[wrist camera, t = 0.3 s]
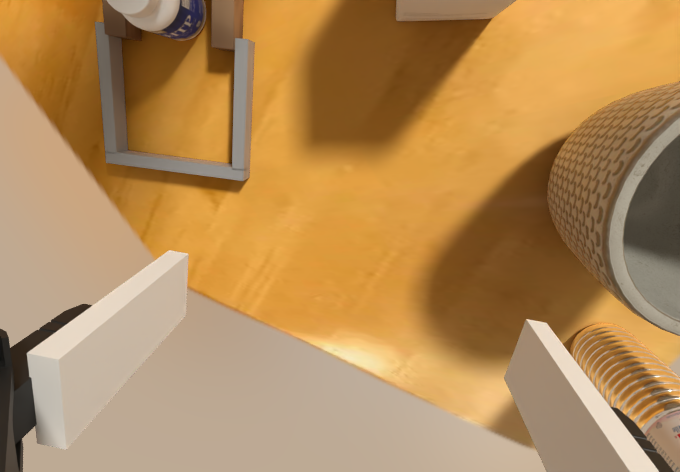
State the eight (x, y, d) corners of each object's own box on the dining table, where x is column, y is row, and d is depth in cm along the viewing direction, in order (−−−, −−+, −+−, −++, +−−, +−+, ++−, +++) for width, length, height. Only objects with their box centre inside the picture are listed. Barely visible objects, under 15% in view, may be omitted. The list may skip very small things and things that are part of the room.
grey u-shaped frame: (108, 25, 38) (94, 21, 37) (254, 42, 38) (248, 39, 36) (118, 160, 43) (106, 162, 41) (249, 177, 42) (243, 181, 40)
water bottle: (555, 360, 46) (746, 635, 22) (587, 311, 43) (838, 560, 20) (610, 380, 46) (856, 674, 22) (644, 332, 44) (960, 603, 20)
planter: (499, 244, 42) (569, 325, 27) (545, 68, 36) (666, 45, 21) (667, 267, 41) (837, 363, 26) (741, 91, 36) (1011, 82, 20)
